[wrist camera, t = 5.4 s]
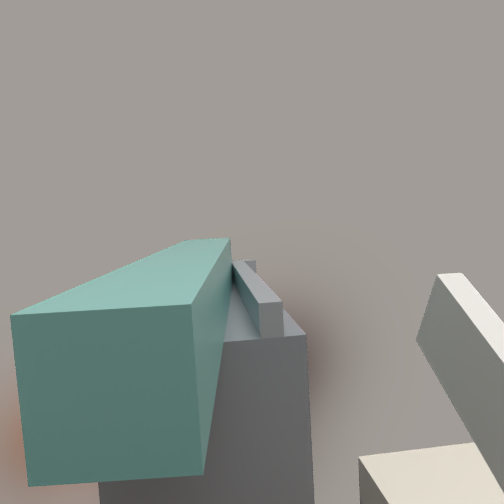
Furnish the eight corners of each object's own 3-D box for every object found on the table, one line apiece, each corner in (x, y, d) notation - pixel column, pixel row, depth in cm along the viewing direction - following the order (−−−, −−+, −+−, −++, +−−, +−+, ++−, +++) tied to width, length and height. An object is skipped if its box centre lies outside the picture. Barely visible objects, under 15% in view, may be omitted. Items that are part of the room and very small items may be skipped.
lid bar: (28, 487, 9) (9, 315, 8) (188, 284, 34) (185, 240, 34) (203, 475, 9) (191, 304, 8) (232, 281, 34) (230, 237, 34)
